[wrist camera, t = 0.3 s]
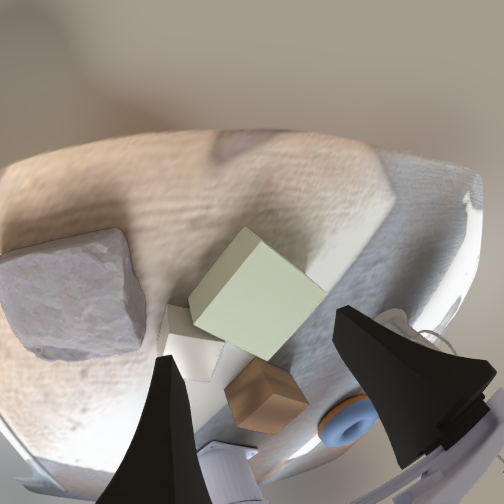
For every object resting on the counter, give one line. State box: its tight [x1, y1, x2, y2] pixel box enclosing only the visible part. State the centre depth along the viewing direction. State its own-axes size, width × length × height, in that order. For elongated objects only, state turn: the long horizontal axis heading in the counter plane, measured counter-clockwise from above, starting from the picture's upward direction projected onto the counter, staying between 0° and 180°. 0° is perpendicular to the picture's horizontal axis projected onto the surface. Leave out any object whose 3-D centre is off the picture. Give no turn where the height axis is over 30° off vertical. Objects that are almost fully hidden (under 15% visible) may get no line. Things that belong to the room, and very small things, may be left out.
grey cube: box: [157, 304, 225, 382], centre depth 20 cm, size 4×4×4 cm
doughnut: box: [318, 395, 379, 447], centre depth 33 cm, size 10×10×5 cm
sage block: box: [188, 226, 327, 361], centre depth 21 cm, size 7×7×4 cm
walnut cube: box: [224, 357, 310, 435], centre depth 24 cm, size 5×5×5 cm
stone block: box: [0, 228, 146, 362], centre depth 17 cm, size 12×5×10 cm
